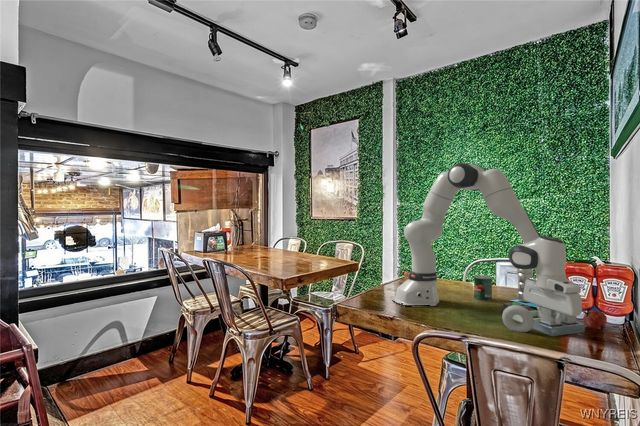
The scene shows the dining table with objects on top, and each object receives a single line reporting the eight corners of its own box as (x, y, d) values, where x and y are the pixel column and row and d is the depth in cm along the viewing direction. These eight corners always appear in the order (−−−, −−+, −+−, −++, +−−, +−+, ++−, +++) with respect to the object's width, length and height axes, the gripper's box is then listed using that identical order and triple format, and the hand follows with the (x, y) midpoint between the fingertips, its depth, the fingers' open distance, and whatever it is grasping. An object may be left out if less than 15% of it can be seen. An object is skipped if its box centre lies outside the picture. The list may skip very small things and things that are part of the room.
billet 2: (567, 331, 122) (567, 311, 122) (556, 327, 126) (557, 308, 125) (576, 330, 123) (576, 310, 123) (565, 326, 127) (565, 307, 126)
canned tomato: (471, 299, 167) (471, 276, 167) (478, 296, 172) (478, 274, 172) (487, 302, 161) (488, 279, 161) (494, 299, 166) (494, 277, 166)
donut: (501, 331, 125) (501, 304, 125) (502, 328, 128) (502, 301, 127) (533, 337, 119) (533, 309, 119) (534, 334, 122) (534, 306, 121)
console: (516, 317, 139) (516, 308, 139) (503, 312, 146) (503, 303, 146) (530, 316, 141) (530, 306, 141) (516, 311, 148) (516, 301, 148)
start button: (516, 312, 142) (516, 304, 141) (510, 309, 145) (510, 302, 145) (522, 311, 142) (522, 304, 142) (516, 309, 145) (516, 302, 145)
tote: (529, 328, 128) (529, 320, 127) (511, 320, 136) (511, 312, 136) (556, 324, 131) (556, 316, 131) (536, 317, 139) (536, 310, 139)
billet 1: (559, 328, 121) (559, 309, 121) (550, 329, 120) (550, 310, 120) (549, 324, 125) (549, 305, 125) (540, 326, 124) (540, 306, 124)
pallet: (552, 338, 117) (552, 328, 117) (532, 330, 125) (532, 321, 125) (585, 334, 121) (585, 324, 121) (563, 326, 129) (564, 317, 129)
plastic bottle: (535, 303, 158) (536, 261, 158) (519, 303, 160) (519, 260, 159) (529, 300, 164) (530, 258, 164) (514, 299, 166) (514, 258, 165)
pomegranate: (599, 332, 129) (574, 313, 132) (615, 320, 126) (589, 301, 129) (603, 341, 123) (576, 321, 126) (620, 328, 120) (592, 308, 123)
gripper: (519, 276, 131) (518, 312, 131) (571, 289, 111) (570, 331, 112) (532, 275, 133) (532, 310, 133) (585, 288, 113) (585, 329, 113)
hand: (550, 320), depth 122 cm, fingers closed on billet 1, 4 cm apart
